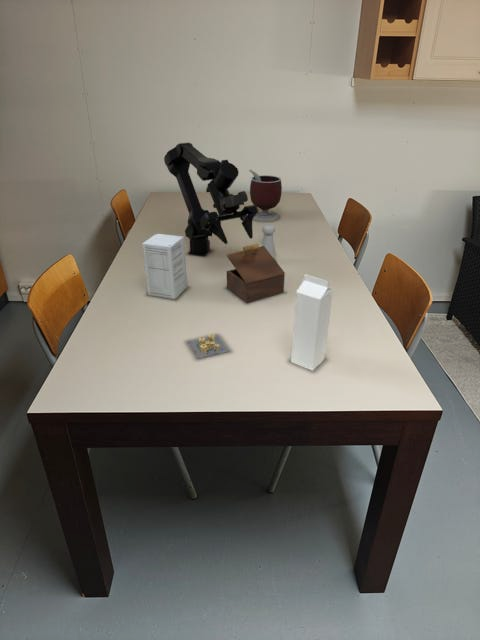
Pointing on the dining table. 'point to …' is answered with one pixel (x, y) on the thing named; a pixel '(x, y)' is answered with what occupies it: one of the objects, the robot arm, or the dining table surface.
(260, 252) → the tea lid
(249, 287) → the tea box
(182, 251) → the supplement box
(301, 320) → the milk
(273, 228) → the salt shaker
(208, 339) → the dice set
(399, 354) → the dining table surface
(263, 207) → the mate gourd
